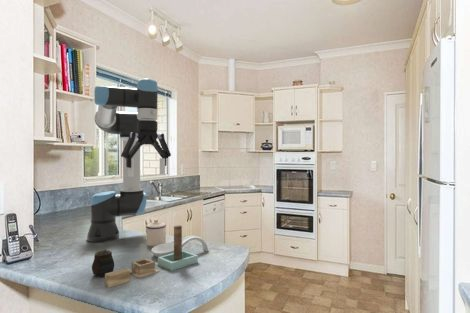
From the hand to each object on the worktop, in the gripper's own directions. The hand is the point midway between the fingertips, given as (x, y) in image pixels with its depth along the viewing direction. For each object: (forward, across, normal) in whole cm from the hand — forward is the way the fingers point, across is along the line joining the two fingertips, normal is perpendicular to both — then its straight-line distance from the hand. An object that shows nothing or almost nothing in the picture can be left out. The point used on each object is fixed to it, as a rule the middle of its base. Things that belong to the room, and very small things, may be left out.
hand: (147, 175), depth 121 cm
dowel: (+33, +7, -11) cm, 35 cm away
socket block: (+34, -7, -9) cm, 36 cm away
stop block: (+34, -18, -11) cm, 40 cm away
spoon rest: (+35, +15, -1) cm, 38 cm away
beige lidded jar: (+35, +16, +20) cm, 43 cm away
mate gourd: (+34, -17, 0) cm, 38 cm away
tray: (+34, +7, -11) cm, 36 cm away
